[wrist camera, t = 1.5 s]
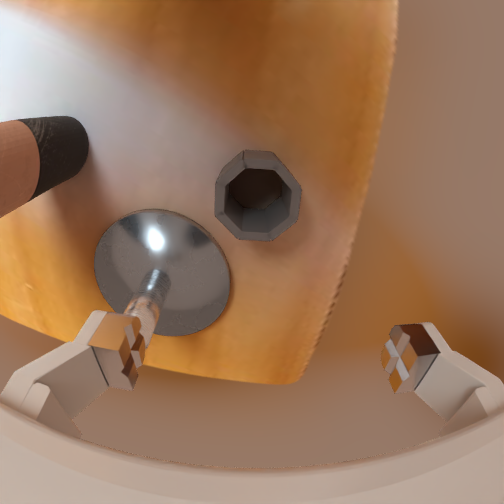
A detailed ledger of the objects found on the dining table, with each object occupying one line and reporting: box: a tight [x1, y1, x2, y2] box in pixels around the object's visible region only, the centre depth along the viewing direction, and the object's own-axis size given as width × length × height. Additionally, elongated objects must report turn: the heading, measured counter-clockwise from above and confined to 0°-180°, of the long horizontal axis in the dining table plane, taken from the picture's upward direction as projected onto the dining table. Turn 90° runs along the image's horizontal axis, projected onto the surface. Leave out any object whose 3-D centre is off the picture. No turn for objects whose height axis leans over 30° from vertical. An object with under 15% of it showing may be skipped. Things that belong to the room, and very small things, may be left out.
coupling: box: [215, 150, 302, 241], centre depth 24 cm, size 6×6×6 cm
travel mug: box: [0, 116, 88, 218], centre depth 15 cm, size 8×8×20 cm
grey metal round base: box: [94, 209, 230, 349], centre depth 26 cm, size 16×16×10 cm
